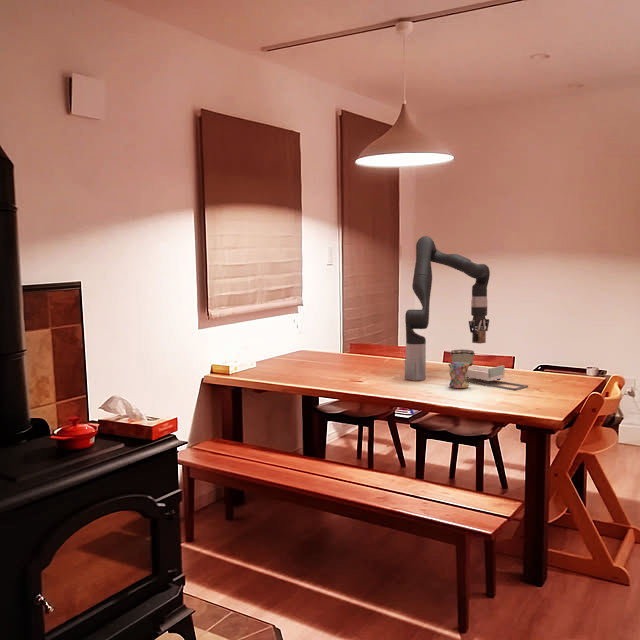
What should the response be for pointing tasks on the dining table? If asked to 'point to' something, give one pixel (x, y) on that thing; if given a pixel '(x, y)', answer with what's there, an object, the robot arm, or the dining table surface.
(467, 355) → the food container
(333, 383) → the dining table surface
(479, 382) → the rails
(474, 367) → the cart
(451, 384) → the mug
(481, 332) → the block
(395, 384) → the dining table surface
